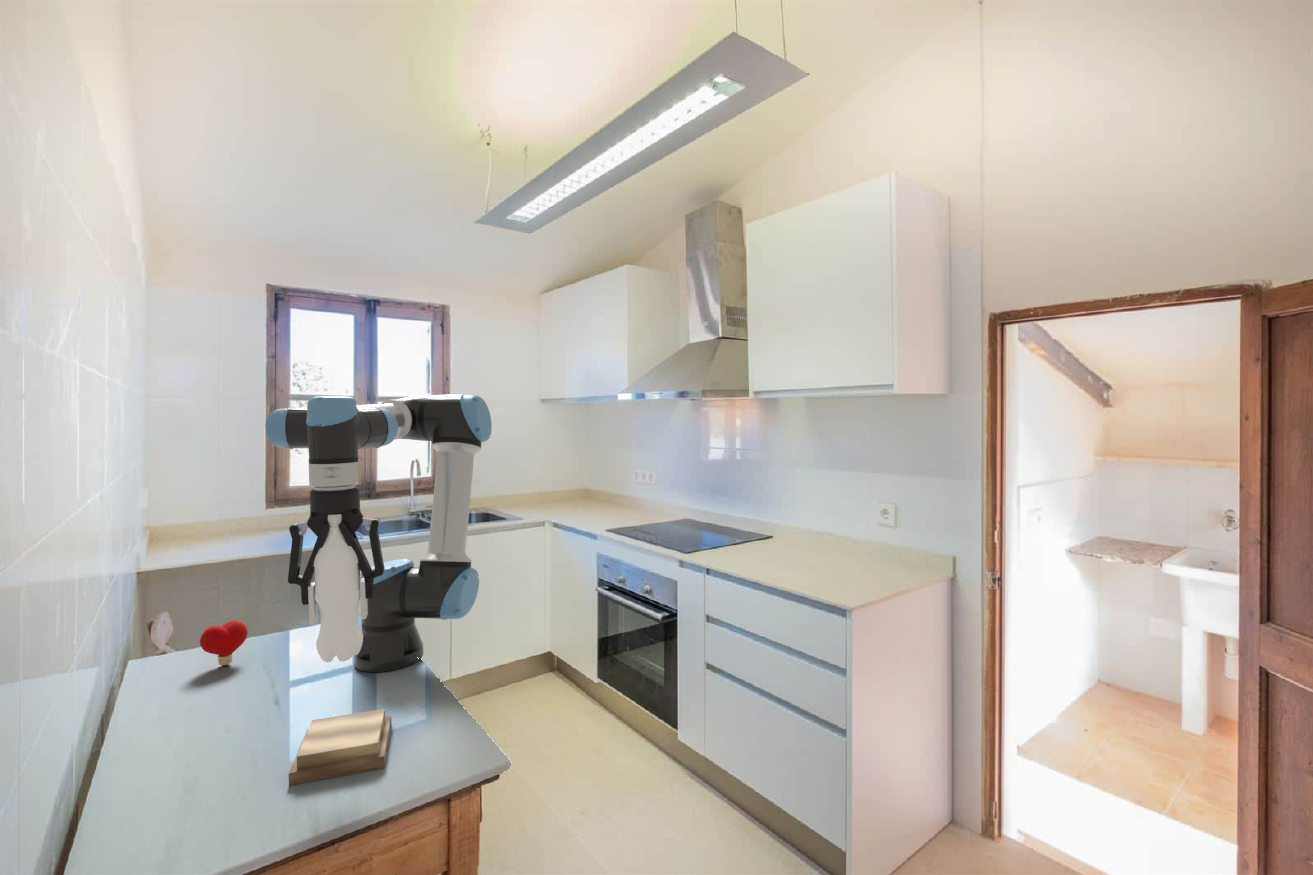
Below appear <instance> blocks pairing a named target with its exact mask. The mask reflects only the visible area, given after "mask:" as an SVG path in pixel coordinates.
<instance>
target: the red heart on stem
mask: <svg viewBox="0 0 1313 875" xmlns="http://www.w3.org/2000/svg"><path fill="white" fill-rule="evenodd" d="M247 636H248V628H247V626H246V625H245V623H243V622H242V621H241V620H240V621H239V620H230V621H228V622H226V623H224V624H223V625H211V626H209V627H207V628H205V630H204V631H203V633H202V634H201V636H200V639H199V644H200V647H201V649H202V650H203V651H204V652H205V653H208V654H211V655H217V659H218V660H217V661H218V662H217V663H218V665H220V666H222V667H228V666H229V665H230V664H231V663H232V662H233V653H234V652H236V651H237V650H238V649H239V648H240V647H241V646H242V645H243V644H244V642H246V639H247Z"/></svg>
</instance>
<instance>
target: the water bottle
mask: <svg viewBox="0 0 1313 875" xmlns="http://www.w3.org/2000/svg"><path fill="white" fill-rule="evenodd" d="M341 517H342V516H341V514H337V515H328V522H329V525H330V528H329V532H328V534H327V537H326V539H325V542H324V544H323V547H322V548H320V549H319V551H318V553H317V555H316V557H315V560H314V567H315V568H314V574H313V576H314V582H315V594H314V599H315V601H316V602H317V608H318V610H319V615H320V616H319V617H320V626H319V632H318V636H317V639H316V641H315V645H316V646H315V647H316V650H317V653H318V655H319V657H320V659H321V660H322V661H323V662H325V663H331V662H332V661H333V660H334V658H335V657H337V659H338V661H339V662H347V661H349V660H350V659H352V658H353V656H354V655H357V654H358V653H359V652H360V649H361V647H362V643H363V634H362V629H361V628H360V625H359V618H358V608H359V604H360V577H361V570H360V568H359V566H358V564H357V563H358V558H357V555H356V553H355V551H354V550H353V548H352V547H351V546H348V545H347V543H346V541H345V539H344V537H343V535H342V533H341V531H340V529H339V524H340V523H341V519H342V518H341Z"/></svg>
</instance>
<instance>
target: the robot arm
mask: <svg viewBox="0 0 1313 875" xmlns="http://www.w3.org/2000/svg"><path fill="white" fill-rule="evenodd" d="M306 405H307V406H306V407H304V408H303V407H302V408H300V407H299V408H298V407H297V408H295V407H294V408H293V407H287V408H277V409H275V410H272V412H270V413H269V414H268V415H267V418H266V420H265V424H264V427H265V436H266V438H267V440H268V441H269V443H270V444H271V445H272V446H274V447H276V448H281V449H282V448H283V449H290V450H292V449H308V479H309V480H308V484H309V485H308V486H310V487H311V488H312V489H311V490H310V491H309V512H310V513H309V517H308V519H307V521H304V522H294V523H292V525H290V527H289V530H288V531H289V533H290V537H291V547H290V555H289V556H290V557H289V564H288V565H289V568H288V575H287V583H288V584H290V585H297V586H299V587H300V591H301V592H300V596H301V604H302V606H305V605H307V606H308V622H309V623H308V624H309V626H314V625H316V623H317V621H318V620H319V619H318V618H319V617H318V615H319V614H318V605H317V602H316V601H315V599H314V594H315V581H314V582H312V580H313V576H314V568H315V567H314V560H315V557H316V555H317V553H318V551H319V549H320V548H322V547H323V544H324V542H325V539H326V537H327V534H328V532H329V528H330V525H329V522H328V515H337V514H341V516H342V517H341V518H342V519H341V523H340V524H339V529H340V531H341V533H342V535H343V537H344V539H345V541H346V543H347V545H348V546H351V547H352V548H353V550H354V551H355V553H356V555H357V558H358V563H357V564H358V566H359V568H360V600H359V603H360V620H361V622H360V623H361V632H362V634H363V643H362V647H361V649H360V652H359V653H358V654H357V655H353V656H354V657H353V658H354V659H353V660H354V667H355V668H356V669H357V670H359V671H362V672H367V673H383V672H385V673H386V672H391V671H396V670H400V669H404V668H406V667H409V666H411V665H413V664H415V663H416V662H418V661H419V660H418V658H419V659H420V660H421V659H423V658H422V657H423V656H424V643H423V641H422V638H421V636H420V633H419V631H418V628H417V625H416V619H435V620H436V619H437V620H443V621H446V620H459V619H462V618H464V617H465V616H467V615H468V613H470V611H471V609H472V608H473V607H474V604H475V602H476V599H477V596H478V592H479V588H480V578H479V577H480V576H479V572H478V571H477V569H475V568H473V567H472V559H471V558H470V557H469V556H468V555H467V553H466V552H467V551H466V550H467V541H468V528H469V517H470V506H471V505H470V503H471V492H472V481H473V471H474V458H475V456H476V454H478V453H479V452H480V451H481V450H482V443H484V442H486V441H488V440H489V439H491V438H490V437H491V435H492V418H491V413H490V409H489V407H488V405H487V402H486V401H485V399H484V398H483V397H481V396H480V395H475V394H465V393H461V394H420V395H413V396H407V397H403V398H397V399H388V400H384V401H383V402H382V401H381V403H380V404H379V403H378V404H361V405H357V401H356V399H355V398H354V397H351V396H314V397H313V396H312V397H310V398H309V399H308V401H307V404H306ZM394 440H411V441H421V442H424V441H425V442H431V448H433V450H435V451H436V453H437V457H436V465H435V466H436V467H435V476H434V486H433V487H434V488H433V497H432V505H431V507H432V508H431V516H430V526H429V538H428V548H427V553H426V554H425V555H424V556H422V557H421V558H420V560H419V567H418V566H417V567H415V563H414V561H413V559H409V558H400V559H399V558H398V559H393V560H388V561H384V557H383V552H382V546H381V540H380V535H379V529H380V523H381V520H380V518H378V517H375V518H369V517H364V515H363V514H362V512H361V499H360V497H361V496H360V494H361V493H360V488H359V487H358V486H356V485H358V484H360V466H359V464H360V463H359V450H363V449H364V450H365V449H380V448H381V447H385V446H388V445H389V444H391V443H392V442H393V441H394ZM361 525H363V526H364V527H365V528H364V529H365V530H366V531H367V532H368V536H369V542H370V543H369V544H370V549H371V554H372V559H373V560H372V561H373V565H370V562H369V560H368V558H367V556H366V554H365V552H364V550H363V548H362V546H361V544H360V541H359V538H358V536H357V534H356V532H357V531H358V530H359V529H360V528H361ZM308 528H309V529H310V530H311V532H312V533H313V534H314V535H315V536H316V541H315V543H314V546H313V549H312V551H311V554H310V556H309V559H308V562H307V564H306V567H305V570H304V572H303V575H301V572H300V571H301V565H302V555H303V554H302V553H303V545H304V536H305V535H306V533H307V530H308ZM417 657H418V658H417Z"/></svg>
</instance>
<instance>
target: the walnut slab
mask: <svg viewBox="0 0 1313 875" xmlns="http://www.w3.org/2000/svg"><path fill="white" fill-rule="evenodd" d="M392 725H393V724H392V715H387V716H386V715H385V722H384V727H383V732H382V737H381V742H380V748H379V753H378V754H376V755H371V756H365V757H359V758H354V759H348V760H343V761H337V762H331V763H326V764H320V765H315V766H309V767H304V768H298V769H297V755H298V752H299V750H300V748H301V745H302V743H303V740H304V738H305V736H306V733H307V731H308V729H309V728H307V729H306V732H305V734H304V736H303V739H302V741H301V743H300V744H299V745H300V746H299V748H298V750H297V753H296V755H295V757H294V759H293V763H292V764H291V767H290V769H289V771H288V786H294V785H300V784H303V783H304V784H305V783H311V782H316V781H323V780H327V779H331V778H337V777H343V776H347V775H348V776H349V775H352V774H358V773H365V772H368V771H369V772H370V771H375V770H379V769H385V766H386V763H387V762H386V761H387V755H388V749H389V745H390V739H391V738H390V737H391V731H392Z"/></svg>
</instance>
